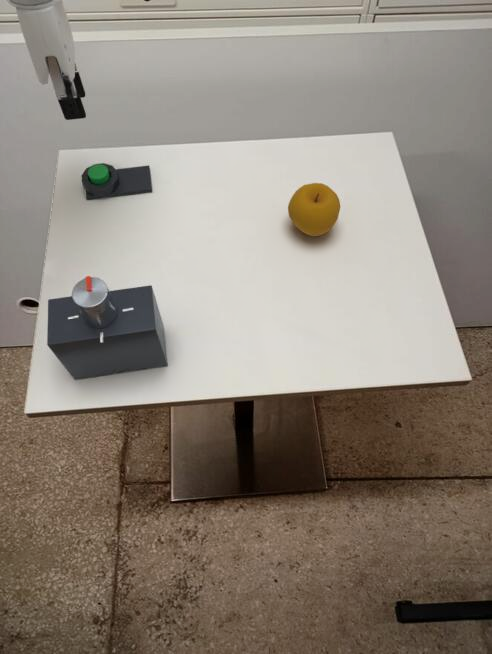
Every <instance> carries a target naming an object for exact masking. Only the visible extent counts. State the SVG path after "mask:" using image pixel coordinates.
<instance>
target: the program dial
mask: <svg viewBox="0 0 492 654" xmlns="http://www.w3.org/2000/svg"><path fill="white" fill-rule="evenodd" d="M110 291H111V290H109V287H108V285H107V282H105V281H104V279H101V278H99V277H96V276H95V277H94V276H93V277H91V276H90V275H87V276H85V277H84V278H82V279H81V280H79V281H78V282H77V283H75V285H74V286H73V288H72V290H71V296H72V298H73V300H74V302H75V304H76V306H77V307H78V309H79V311H80V313H81V314H82V316H83V318H84V320H85V321H86V323H87V324H88V325H89V326H91V327H94V328H104V327H107V326H109V325H110V324H112V323H113V322H114V320H115V319H116V317H117V307H116V305H115V303H114V300H113V298H112V296H111V293H110Z"/></svg>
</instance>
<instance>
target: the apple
mask: <svg viewBox="0 0 492 654" xmlns="http://www.w3.org/2000/svg"><path fill="white" fill-rule="evenodd" d="M340 201H341V200H340V198H339V195H338V194H337V193H336V191H334V190H333V189H332V188H331V187H330V186H328V185H326V184H324V183H319V182H313V183H307V184H304V185H302V186H300V187H299V188H298V189H297V190H295V192H294V193H293V195H292V196H291V198H290V200H289V203H288V206H287V211H288V217H289V219H290V221H291V222H292V224H293V225H294V226H295V227H296V228H297V229H298V230H299V231H301V232H302V233H304V234H306V235H307V236H309V237H318V236H319V237H320V236H322V235H324V234H326V233H328V232H329V231H330V230H331V229H333V227H334V226H335V225H336V223H337V222H338V219H339V214H340V210H341V202H340Z"/></svg>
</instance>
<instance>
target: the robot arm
mask: <svg viewBox="0 0 492 654" xmlns="http://www.w3.org/2000/svg"><path fill="white" fill-rule="evenodd" d="M6 1H7V2H8V4H9V5H11V7H14V8H15V10H16V15H17V18H18V19H17V20H18V22H19V25H20V30H21V33H22V36H23V39H24V42H25V44H26V48H27V51H28V54H29V57H30V59H31V62H32V66H33V68H34V71H35V74H36V77H37V79H38V82H39V83H40V84H41V85H43V86H44V85H47V84H49V77H50V80H51V83H52V86H53V90H54V92H55V97H56V99H57V102H58V104H59V106H60V109H61V112H62V116H63V117H64V119H65V120H66V121H72V120H80V119H81V120H82V119H86V118H87V112H86V110H85V107H84V104H83V100H82V98H86V90H85V88H84V85H83V84H84V83H83V81H82V78H81V75H80V71H78V68H77V64H76V61H75V60H76V52H75V50H76V49H75V40H74V36H73V32H72V28H71V24H70V22H69V21H70V20H69V17H68V15H67V11H66V9H65V5H64V2H63V0H6Z"/></svg>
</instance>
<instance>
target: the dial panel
mask: <svg viewBox="0 0 492 654" xmlns="http://www.w3.org/2000/svg"><path fill="white" fill-rule="evenodd" d="M109 291H110V293H111V296H112V298H113V300H114V303H115V305H116V307H117V317H116V319H115V320H114V322H113V323H112V324H110V325H109V326H107V327H104V328H94V327H91V326H89V325H88V324H87V323H86V321H85V320H84V318H83V316H82V314H81V313H80V311H79V309H78V307H77V306H76V304H75V302H74V300H73V298H72V295H71V296H64V297H56V298H49V299H48V300H47V333H46V334H47V339H46V340H47V341H46V345H47V346H48V348H49V350H50V351H51V352H52V353H53V355H54V356H55V357H56V358H57V360H58V361H59V362H60V363H61V364H62V366H63V367H64V369H65V370H66V371H67V372H68V373H69V375H70V376H71V377H72V378H73V380H74V381H78V380H84V379H91V378H99V377H104V376H112V375H117V374H124V373H125V374H126V373H130V372H136V371H144V370H151V369H157V368H163V367H164V368H165V367H168V366H169V364H168V354H167V353H168V352H167V344H166V335H165V333H166V332H165V326H164V321H163V319H162V316H161V312H160V308H159V306H158V302H157V298H156V296H155V293H154V292H155V291H154V289H153V285H152V284H151V285H143V286H135V287H129V288H121V289H114V290H109Z"/></svg>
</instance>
